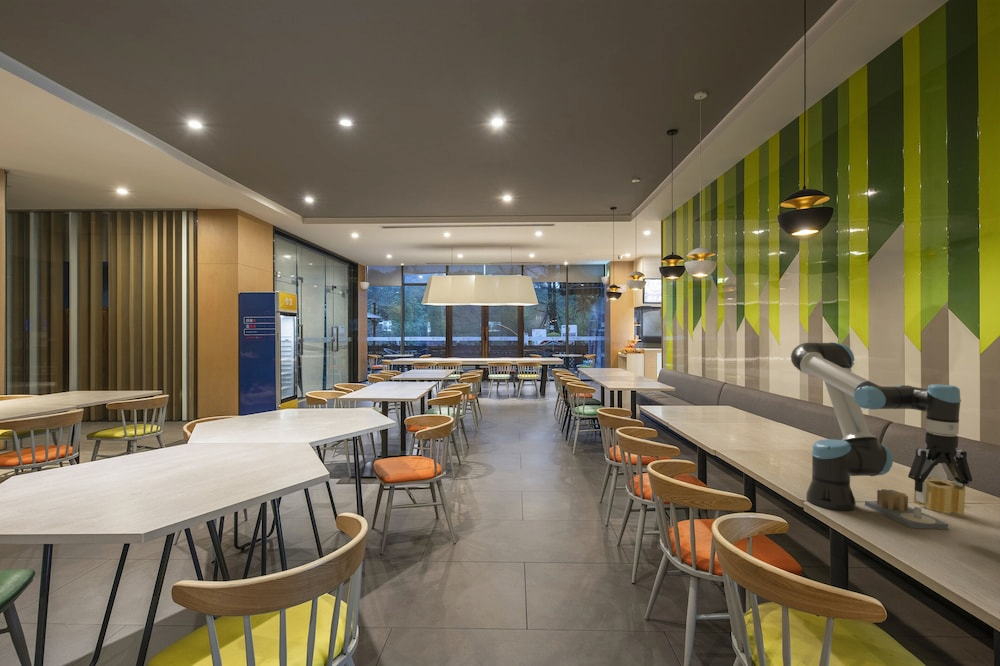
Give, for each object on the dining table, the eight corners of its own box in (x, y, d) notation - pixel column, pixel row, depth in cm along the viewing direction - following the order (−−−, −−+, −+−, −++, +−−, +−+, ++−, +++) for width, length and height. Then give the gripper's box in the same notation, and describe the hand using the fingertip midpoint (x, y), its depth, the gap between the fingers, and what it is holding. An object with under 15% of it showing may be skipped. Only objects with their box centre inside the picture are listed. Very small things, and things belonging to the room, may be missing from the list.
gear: (936, 513, 141) (938, 489, 141) (907, 499, 151) (908, 477, 151) (971, 514, 141) (972, 489, 141) (940, 500, 151) (941, 478, 151)
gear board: (910, 527, 152) (911, 505, 152) (864, 504, 172) (865, 485, 172) (948, 528, 151) (948, 506, 151) (897, 505, 171) (897, 486, 171)
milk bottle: (942, 513, 165) (943, 457, 165) (915, 505, 172) (915, 452, 171) (951, 509, 168) (952, 455, 168) (924, 502, 175) (925, 450, 175)
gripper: (915, 435, 142) (912, 506, 143) (991, 437, 141) (988, 508, 142) (895, 429, 150) (892, 496, 150) (967, 431, 149) (964, 498, 149)
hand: (938, 502), depth 146 cm, fingers closed on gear, 10 cm apart
